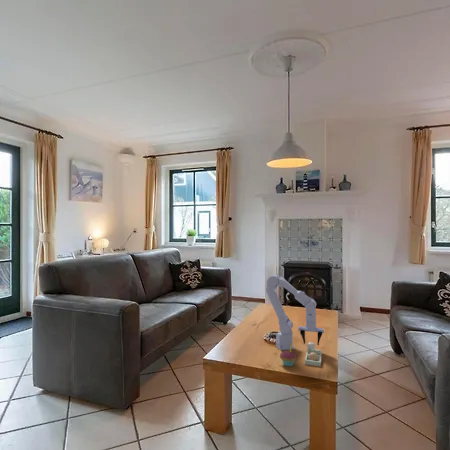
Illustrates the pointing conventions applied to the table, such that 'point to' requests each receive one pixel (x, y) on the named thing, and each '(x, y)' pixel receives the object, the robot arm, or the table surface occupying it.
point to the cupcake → (288, 357)
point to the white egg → (311, 345)
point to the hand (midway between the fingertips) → (311, 343)
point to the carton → (310, 362)
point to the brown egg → (313, 356)
